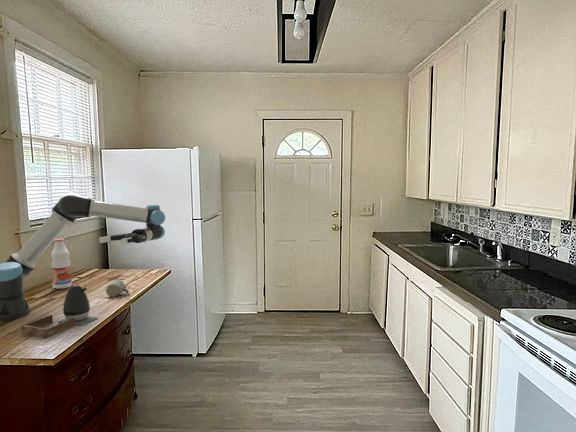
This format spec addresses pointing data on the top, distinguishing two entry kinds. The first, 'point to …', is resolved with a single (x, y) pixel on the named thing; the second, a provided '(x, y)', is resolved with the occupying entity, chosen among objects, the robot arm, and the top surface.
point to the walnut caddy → (36, 330)
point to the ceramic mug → (116, 288)
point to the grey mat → (82, 322)
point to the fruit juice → (60, 265)
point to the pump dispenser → (76, 304)
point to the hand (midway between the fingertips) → (110, 241)
